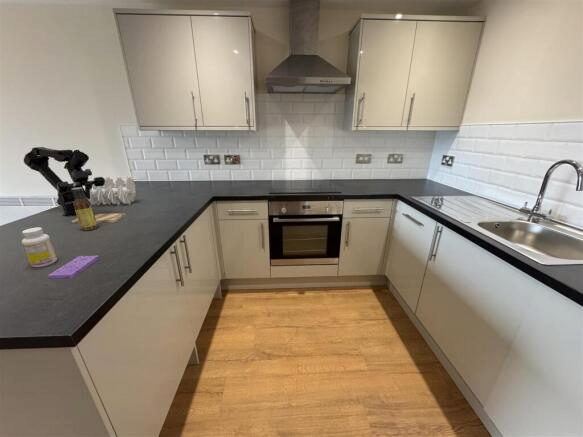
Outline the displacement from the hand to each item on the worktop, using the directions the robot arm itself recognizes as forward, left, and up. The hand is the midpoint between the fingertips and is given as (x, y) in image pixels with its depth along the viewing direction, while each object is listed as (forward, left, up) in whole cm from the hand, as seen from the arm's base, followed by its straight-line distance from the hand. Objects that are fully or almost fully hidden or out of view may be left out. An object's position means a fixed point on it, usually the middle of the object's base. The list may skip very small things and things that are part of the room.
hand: (89, 198), depth 122 cm
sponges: (+25, -49, -13) cm, 56 cm away
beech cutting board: (+1, +2, -12) cm, 12 cm away
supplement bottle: (+12, -45, -12) cm, 48 cm away
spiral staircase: (-8, +31, -12) cm, 35 cm away
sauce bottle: (+5, -12, -12) cm, 18 cm away
